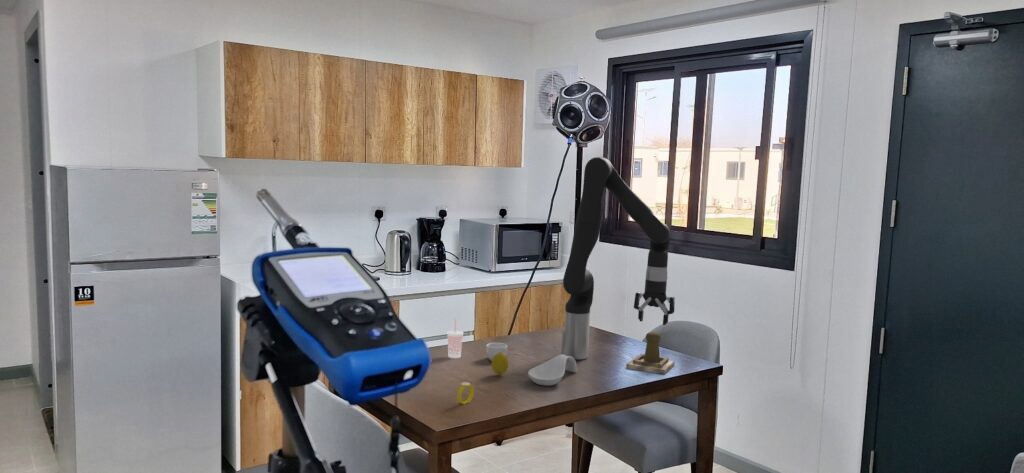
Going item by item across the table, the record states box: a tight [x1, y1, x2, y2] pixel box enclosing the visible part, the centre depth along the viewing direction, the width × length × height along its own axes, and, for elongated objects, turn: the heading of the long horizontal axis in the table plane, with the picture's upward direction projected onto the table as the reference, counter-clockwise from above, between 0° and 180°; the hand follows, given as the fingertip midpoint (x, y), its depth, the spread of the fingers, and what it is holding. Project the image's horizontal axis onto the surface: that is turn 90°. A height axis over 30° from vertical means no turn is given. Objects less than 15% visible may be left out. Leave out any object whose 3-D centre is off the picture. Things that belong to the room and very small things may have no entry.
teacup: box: [485, 342, 508, 361], centre depth 256 cm, size 10×8×5 cm
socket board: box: [625, 353, 675, 375], centre depth 254 cm, size 14×14×3 cm
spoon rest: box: [527, 354, 579, 387], centre depth 234 cm, size 24×12×7 cm, turn 147°
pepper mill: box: [644, 331, 661, 363], centre depth 253 cm, size 6×6×11 cm
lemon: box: [491, 352, 509, 376], centre depth 236 cm, size 6×6×8 cm
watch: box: [456, 381, 475, 405], centre depth 207 cm, size 6×3×6 cm, turn 143°
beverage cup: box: [446, 318, 464, 359], centre depth 257 cm, size 6×6×14 cm
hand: (652, 322), depth 252 cm, fingers open, 8 cm apart
